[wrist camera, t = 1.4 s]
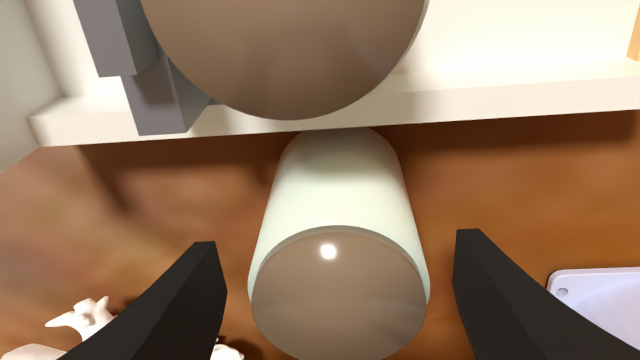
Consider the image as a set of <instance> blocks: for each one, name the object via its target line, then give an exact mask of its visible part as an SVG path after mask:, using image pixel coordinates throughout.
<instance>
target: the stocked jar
mask: <svg viewBox="0 0 640 360" xmlns="http://www.w3.org/2000/svg"><path fill="white" fill-rule="evenodd" d="M140 1H141V4H142V7H143V10H144V13H145V16H146V18H147V20H148V22H149V25H150V27H151V29H152V31H153V33H154V35H155V37H156V38H157V40H158V42H159V44H160V45H161V47H162V49H163V50H164V52H165V53H166V54H167V56H168V57H169V58H170V60H171V61H172V62H173V64H174V65H175V66H176V67H177V68H178V69H179V70H180V71H181V72H182V74H183V75H184V76H185V77H186V78H187V79H188V80H189V81H191V82H192V83H193V84H194V85H195V86H196V87H198V88H199V89H200V90H201V91H203V92H204V93H206V94H207V95H209V96H210V97H212V98H213V99H215V100H216V101H218V102H220V103H222V104H224V105H226V106H228V107H230V108H232V109H234V110H237V111H239V112H242V113H245V114H248V115H252V116H256V117H260V118H264V119H272V120H303V119H311V118H316V117H319V116H323V115H327V114H330V113H333V112H335V111H338V110H340V109H343V108H345V107H347V106H349V105H351V104H353V103H355V102H356V101H358V100H360V99H362V98H363V97H365V96H366V95H368V94H369V93H370V92H372V91H373V90H375V89H376V88H377V87H378V86H379V85H380V84H382V83H383V82H384V81H385V80H386V79H387V78H388V77H389V76H390V75H391V74H392V73H393V71H394V70H395V69H396V68H397V67H398V65H399V64H400V63H401V62H402V61H403V59H404V57H405V56H406V54H407V53H408V51H409V50H410V48H411V47H412V45H413V43H414V41H415V39H416V37H417V35H418V33H419V31H420V29H421V26H422V24H423V21H424V18H425V15H426V12H427V9H428V5H429V1H430V0H140Z"/></svg>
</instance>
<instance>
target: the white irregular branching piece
mask: <svg viewBox="0 0 640 360" xmlns="http://www.w3.org/2000/svg"><path fill="white" fill-rule="evenodd" d="M108 299H109V297H108V296H105V297H103V298H102V299H101V300H100V301H99V302H97V303H96V302H95V301H94V300H93V299H91V298H88V299H86V300H84V301H82V302H80V303H78V304H76V305H75V306H74V309H75V311H70V312H67V313H65V314H63V315H61V316H60V317H57V318H55V319H53V320H51V321H49V322H48V323H46V324H45V326H46V327H57V326H64V325H68V326H70V327H73V328H75V329H76V330H77V331H79V333H80V334H81V335H82V339H83V341H85V340H86V339H88V338H89V337H90V336H92V335H93V334H94V333H96V332H97V331H98V330H100V329H101V328H102V327H104V326H105V325H106V324H108V323H109V322H110V321H111V320H113V319H114V318H115V317H116V316H118V315H116V316H112V315H111V314H110V313H109V312H108V311H107V310H106V306H107V303H108ZM217 341H218V338H217V340H216V342H217ZM65 353H67V352H66V351H61V350H58V349H54V348H51V347H48V346H44V345H40V344H28V345H25V346H22V347H19V348H17V349H15V350H13V351H11V352H8V353H6V354H4V355H3V357H2V359H1V360H56V359H58V358H59V357H61V356H62V355H64V354H65ZM243 359H244V355H243V354H241V353H239V352H238V351H237V350H236V349H234V348H231V347H229V346H227V345H223V344H217V345H215V346H214V349H213V352H212V355H211V358H210V360H243Z"/></svg>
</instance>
